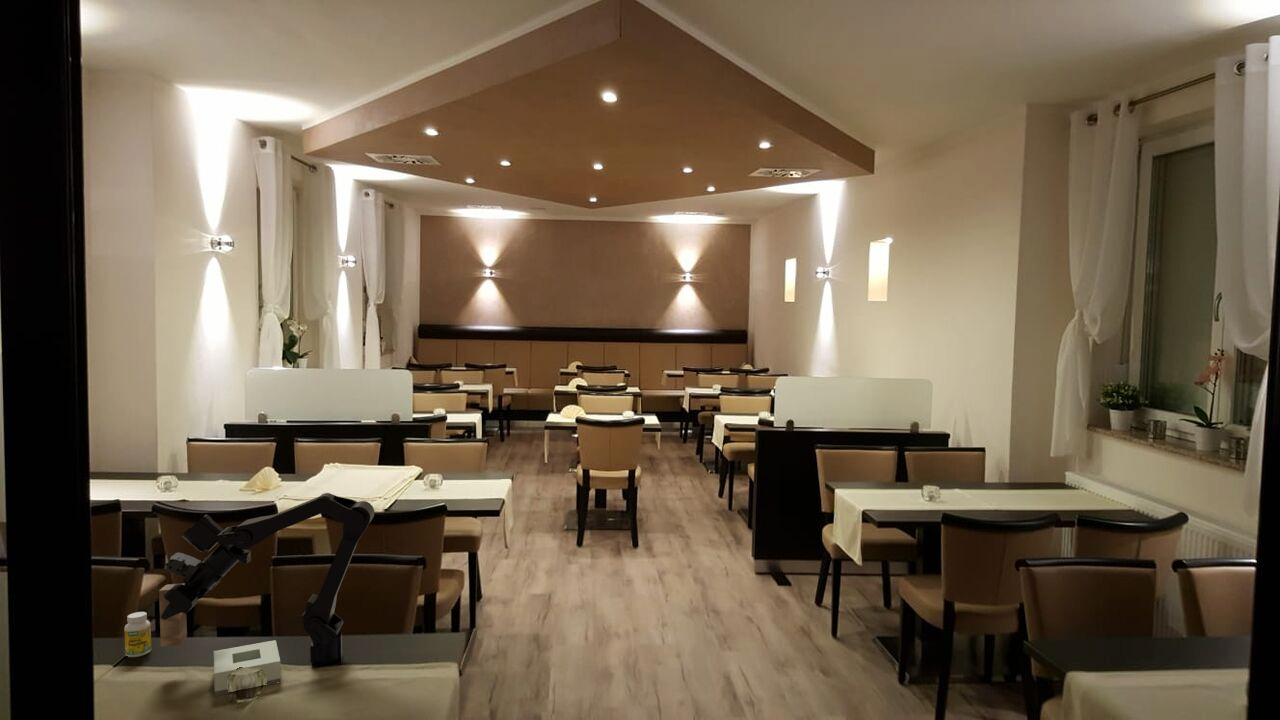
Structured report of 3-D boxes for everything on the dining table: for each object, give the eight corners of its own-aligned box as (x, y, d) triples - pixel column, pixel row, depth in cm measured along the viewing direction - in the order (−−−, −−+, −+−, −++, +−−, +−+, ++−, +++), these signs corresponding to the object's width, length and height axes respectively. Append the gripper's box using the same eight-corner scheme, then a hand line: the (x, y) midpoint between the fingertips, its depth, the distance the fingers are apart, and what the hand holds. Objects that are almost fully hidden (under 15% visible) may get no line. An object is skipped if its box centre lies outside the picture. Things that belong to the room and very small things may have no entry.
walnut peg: (186, 638, 179) (185, 583, 178) (179, 645, 175) (178, 589, 175) (168, 639, 178) (166, 584, 178) (160, 646, 174) (159, 590, 174)
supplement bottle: (151, 646, 191) (150, 609, 190) (151, 654, 186) (150, 615, 186) (125, 651, 188) (124, 613, 188) (124, 659, 184) (123, 620, 183)
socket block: (276, 660, 184) (275, 640, 183) (280, 682, 172) (280, 660, 172) (214, 672, 177) (213, 651, 177) (214, 696, 166) (214, 673, 166)
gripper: (205, 531, 186) (156, 578, 184) (172, 553, 167) (118, 606, 166) (240, 561, 187) (193, 608, 186) (212, 586, 169) (159, 639, 168)
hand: (166, 614), depth 176 cm, fingers closed on walnut peg, 4 cm apart
